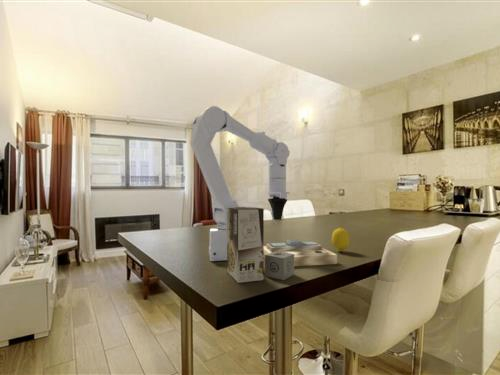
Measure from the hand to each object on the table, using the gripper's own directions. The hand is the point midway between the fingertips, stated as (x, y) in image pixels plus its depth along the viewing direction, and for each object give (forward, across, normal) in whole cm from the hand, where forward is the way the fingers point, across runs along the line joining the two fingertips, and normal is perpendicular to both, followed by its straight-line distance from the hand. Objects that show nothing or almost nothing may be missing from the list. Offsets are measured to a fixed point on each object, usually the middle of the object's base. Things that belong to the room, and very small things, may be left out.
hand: (277, 219), depth 90 cm
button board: (+10, -11, -2) cm, 15 cm away
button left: (+8, -9, +3) cm, 12 cm away
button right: (+8, -9, -8) cm, 14 cm away
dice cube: (+11, -25, +7) cm, 28 cm away
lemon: (+11, -5, -20) cm, 23 cm away
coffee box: (+11, -24, +15) cm, 30 cm away
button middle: (+7, -9, -3) cm, 12 cm away
